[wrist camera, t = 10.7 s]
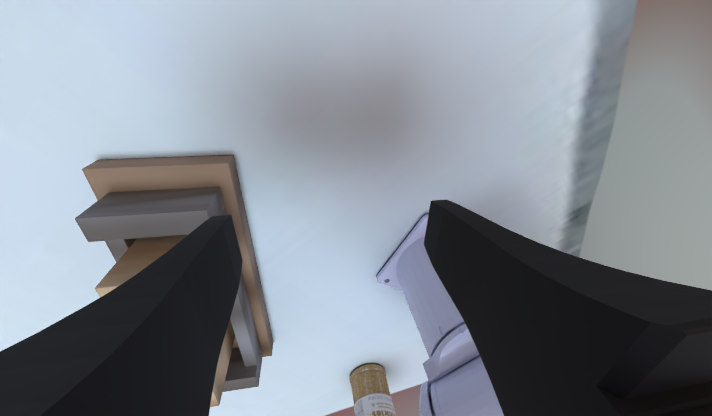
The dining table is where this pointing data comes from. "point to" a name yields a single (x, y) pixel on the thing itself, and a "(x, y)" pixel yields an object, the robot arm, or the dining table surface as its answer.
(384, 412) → the sprinkles bottle
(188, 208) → the hinge base
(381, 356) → the dining table surface
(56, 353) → the robot arm
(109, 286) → the door panel
